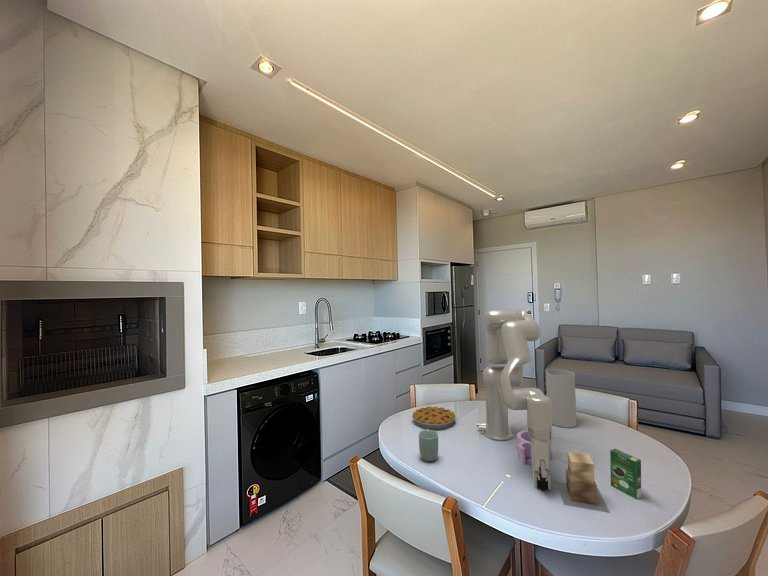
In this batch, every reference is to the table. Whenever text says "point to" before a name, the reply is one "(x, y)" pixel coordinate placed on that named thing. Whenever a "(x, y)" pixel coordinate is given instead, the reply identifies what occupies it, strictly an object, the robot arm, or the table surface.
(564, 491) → the base tile
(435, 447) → the cup
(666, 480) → the table surface
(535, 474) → the brick sage
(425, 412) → the pie
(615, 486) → the coffee box
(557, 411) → the cylinder vase
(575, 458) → the brick oak
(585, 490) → the brick walnut
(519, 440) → the clip
